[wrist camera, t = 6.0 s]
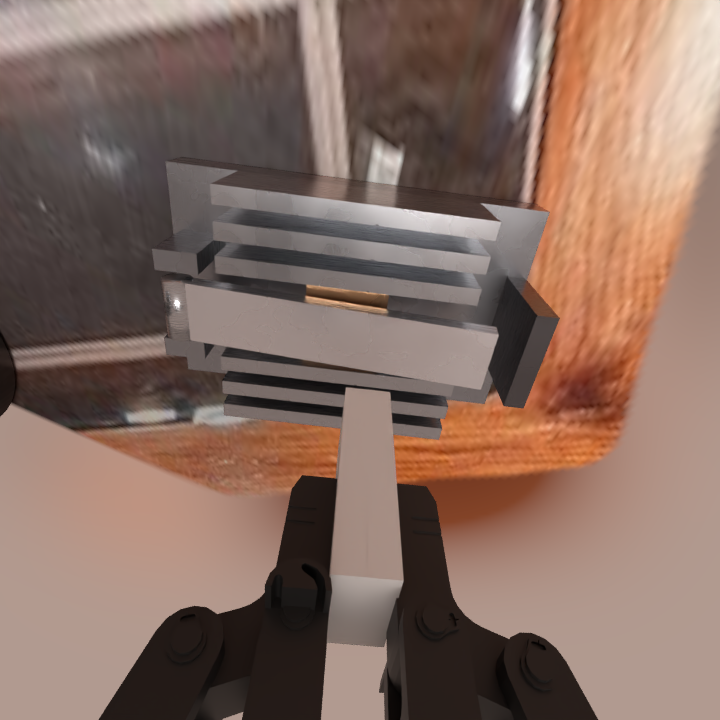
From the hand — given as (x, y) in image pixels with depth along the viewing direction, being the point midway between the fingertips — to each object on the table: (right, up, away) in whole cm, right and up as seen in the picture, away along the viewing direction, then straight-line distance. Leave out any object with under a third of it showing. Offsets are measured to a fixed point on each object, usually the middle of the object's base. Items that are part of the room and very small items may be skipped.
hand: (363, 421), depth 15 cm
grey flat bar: (-2, +4, +6) cm, 7 cm away
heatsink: (-1, +7, +11) cm, 13 cm away
